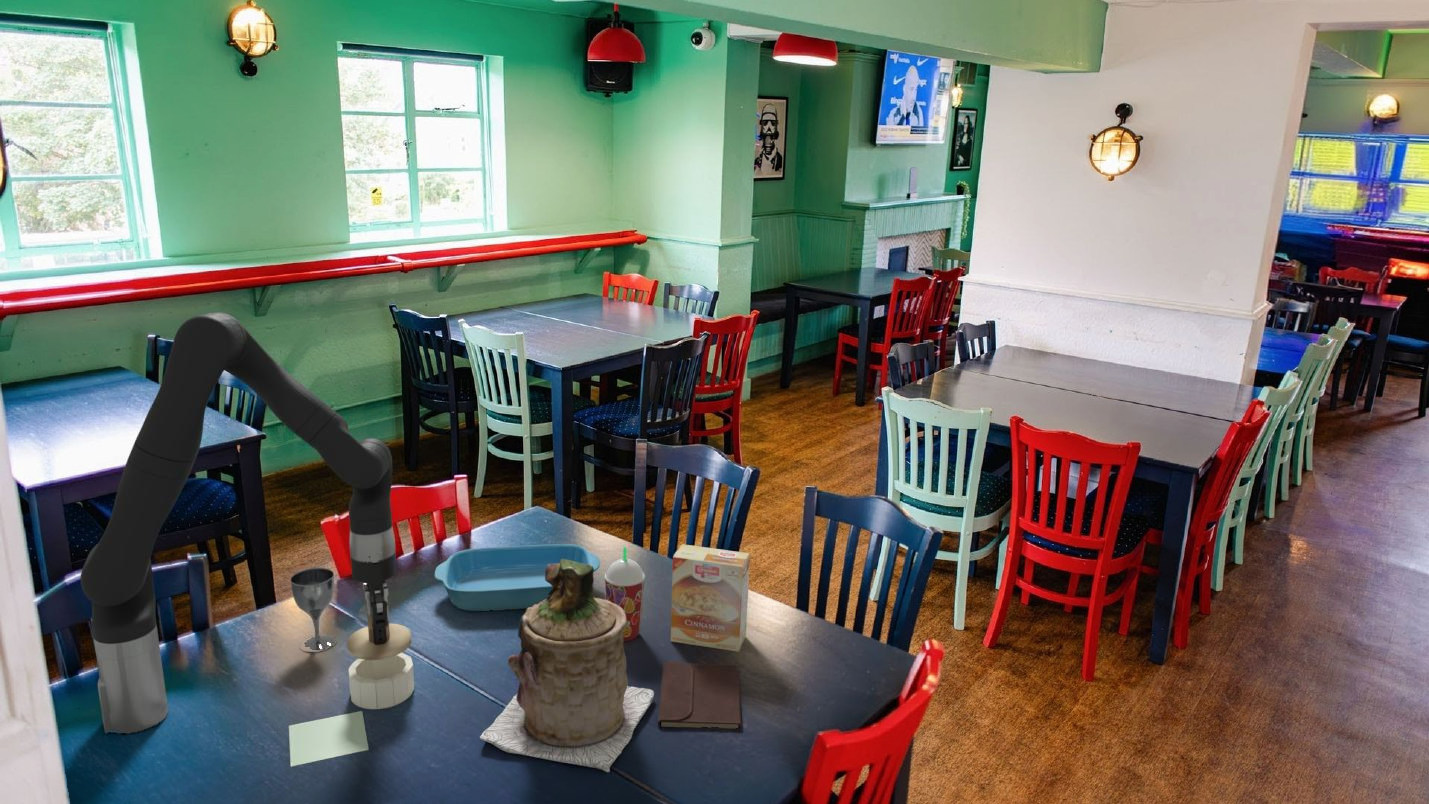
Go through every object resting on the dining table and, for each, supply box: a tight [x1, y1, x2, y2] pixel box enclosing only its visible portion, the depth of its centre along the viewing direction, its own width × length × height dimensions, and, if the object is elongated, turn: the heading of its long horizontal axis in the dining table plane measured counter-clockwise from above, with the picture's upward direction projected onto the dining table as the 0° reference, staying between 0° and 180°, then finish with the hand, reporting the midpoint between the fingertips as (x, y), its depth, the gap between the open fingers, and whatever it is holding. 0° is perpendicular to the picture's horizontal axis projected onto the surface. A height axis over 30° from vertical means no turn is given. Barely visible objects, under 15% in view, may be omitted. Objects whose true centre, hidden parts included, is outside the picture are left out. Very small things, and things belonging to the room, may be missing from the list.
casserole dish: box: [434, 543, 601, 612], centre depth 216 cm, size 37×22×7 cm, turn 101°
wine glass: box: [290, 567, 338, 651], centre depth 190 cm, size 8×8×15 cm
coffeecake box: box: [670, 543, 751, 653], centre depth 197 cm, size 15×7×20 cm, turn 76°
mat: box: [288, 710, 369, 768], centre depth 162 cm, size 12×12×1 cm
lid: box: [346, 611, 412, 660], centre depth 172 cm, size 11×11×6 cm
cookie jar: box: [479, 559, 655, 773], centre depth 165 cm, size 25×25×32 cm
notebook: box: [657, 661, 742, 729], centre depth 179 cm, size 15×20×2 cm
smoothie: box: [604, 546, 646, 642], centre depth 197 cm, size 8×8×20 cm
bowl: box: [348, 652, 415, 710], centre depth 175 cm, size 11×11×6 cm
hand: (379, 637), depth 172 cm, fingers closed on lid, 3 cm apart
